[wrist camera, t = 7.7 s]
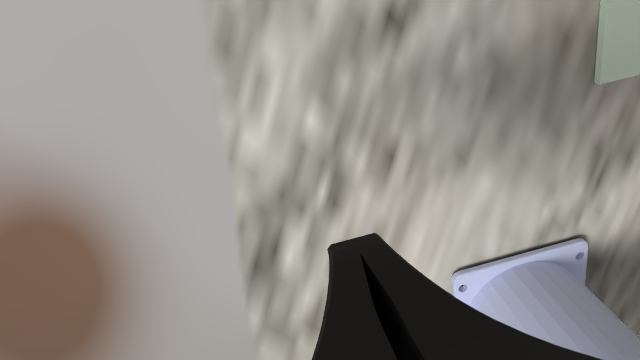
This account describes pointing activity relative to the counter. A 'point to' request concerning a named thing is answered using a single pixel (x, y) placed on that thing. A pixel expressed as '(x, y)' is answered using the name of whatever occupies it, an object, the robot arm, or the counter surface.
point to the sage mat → (618, 41)
